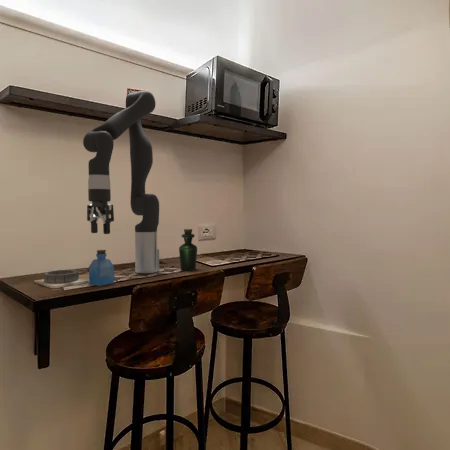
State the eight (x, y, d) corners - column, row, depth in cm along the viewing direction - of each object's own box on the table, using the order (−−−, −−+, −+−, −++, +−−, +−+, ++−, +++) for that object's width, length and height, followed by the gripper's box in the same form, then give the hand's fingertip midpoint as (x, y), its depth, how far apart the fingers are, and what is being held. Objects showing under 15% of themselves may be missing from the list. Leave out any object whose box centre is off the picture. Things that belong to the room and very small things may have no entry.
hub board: (69, 277, 139) (69, 267, 139) (88, 282, 130) (88, 272, 129) (34, 282, 130) (34, 272, 129) (52, 288, 120) (52, 277, 120)
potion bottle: (187, 271, 153) (187, 229, 152) (175, 269, 158) (175, 229, 157) (201, 269, 159) (201, 229, 158) (188, 267, 164) (188, 228, 163)
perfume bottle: (104, 280, 133) (104, 249, 132) (114, 283, 129) (113, 250, 129) (89, 283, 128) (88, 250, 128) (98, 285, 124) (98, 251, 124)
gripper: (119, 187, 125) (120, 233, 126) (98, 189, 135) (99, 232, 135) (100, 187, 120) (101, 235, 120) (79, 188, 129) (80, 233, 130)
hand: (100, 233), depth 128 cm, fingers open, 8 cm apart
